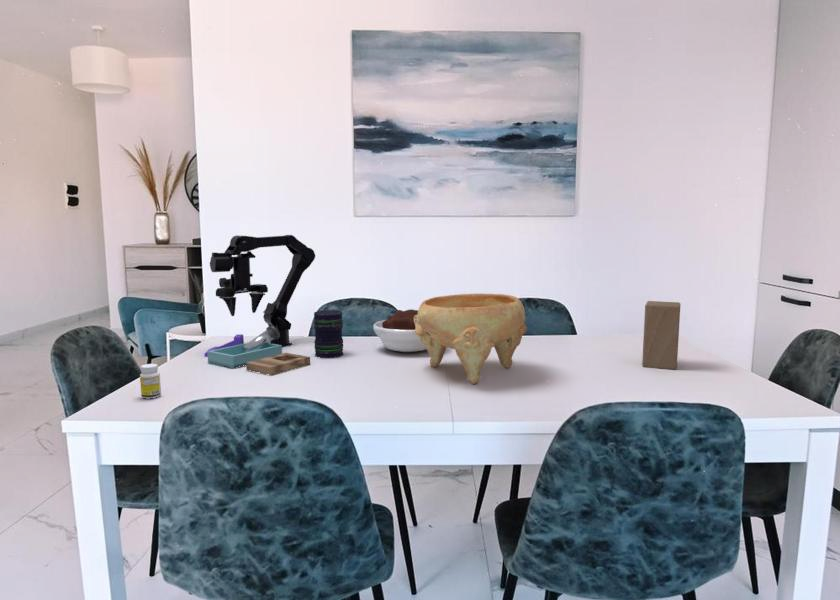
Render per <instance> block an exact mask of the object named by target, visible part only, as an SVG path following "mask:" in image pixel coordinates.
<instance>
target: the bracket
mask: <svg viewBox="0 0 840 600" xmlns="http://www.w3.org/2000/svg"><path fill="white" fill-rule="evenodd" d="M244 340H245V339H244V334H243V333H242V334H241V333H239V334H235V336H234V337H233V340H231V341H229V342H227V343H224V344H222V345H220V346H214V347H211V348H209V349H208V350H207V351H205V352H204V353H203V354H204V358H208V351H211V350H216V349H221V348H226V347H230V346H235V345H240V344H245V342H244Z"/></svg>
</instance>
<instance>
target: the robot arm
mask: <svg viewBox="0 0 840 600" xmlns="http://www.w3.org/2000/svg"><path fill="white" fill-rule="evenodd" d="M282 246H283V247H284V246H285V247H286V248H287V249H288V251H289V252H290V253H291V254H292V260H291V267H290V270H289V272H288V274H287V277H286V279H285V281H284V282H283V285H282V286H281V289H280V290H279V292H278V295H277V297H276V299H275V301H273V302H272V303H271V302H268V303H267V305H266V306H265V307H266V308H265V309H264V311H263V312H262V313H263V321H264V322H265V323H266V324H267V325H268V326H267V327H269V326H270V325H273V326H275V327H276V328H277V329H278V331H279V333H280V337H279V338H277V339H276V340H272V341H270V342H269V343H271V344H277V345H282V347H284V346H283V345H286V346H289V345H288V344H290V345H292V344H293V342H290V332H289V331H290V330H291V327H292V323H291V322H290V321H289V320H288V319H287V315H288V304H289V303H290V301H291V298H292V296H293V295H294V292H295V290H296V288H297V286H298V284H299V282H300V279H301V278H302V277H303V276H302V275H303V273H304V272H305V271H306V270H308V269H309V267H310V266H311V265H312V264H313V262H314V261H315V258H316V254H315V251H314V250H313V249H312V248H311V247H308V246H307V245H306V244H305V243H303V242H302V241H300V240H298V238H296V237H295V235H293V234H285V235H276V236H275V235H273V236H262V237H261V236H259V237H257V236H249V235H234V236H232V237H231V239H230V241H229V245H228V246H227V248H226V249H225V251H224V252H211V257H210V261H209V269H210V270H211V272H212V273H226V272H228V273H229V272H231V270H233V271H232V273H230V278H226V277H221V278H219V279H218V283H219V284H218V285H219V287H218V288H217V289H216V290H215V297H218V298H219V299H222V301H224V302H225V304H226V306H227V308H228V310H229V313H230V315H231V317H234V316H235V313H236V303H237V297H236V295H237V294H243V293H248V295H249V296H250V299H251V312H252V313H253V314H255V313H256V312H257V310H258V307H259V305H260V303H261V301H262V299H263V297H264V296H265V295H266V293H269V290H268V289H269V288H268V286H267V284H262V283H255V284H254V283H253V284H252V283H251V277H254V275H253V273H251V260H250V259H255V258H256V255H255V254H254V253H253V252H252V251H254V250H257V249H259V248H270V247H271V248H272V247H282Z"/></svg>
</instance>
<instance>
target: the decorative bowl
mask: <svg viewBox="0 0 840 600" xmlns="http://www.w3.org/2000/svg"><path fill="white" fill-rule="evenodd" d="M417 310H418V315H415V316H414V324H415V332H416V334H417V335H418V336H419V338H420V340H421V343H422V344H423V345H425V347H426V350H427V352H428V354H429V357H430V359H429V364H430V366H431V367H432V368H435V367H438V366H439V365H440V364H441V362H442V360H443V358H444V354H445V352H446V350H447V348H448V349H452V350H455V353H456V356H457V357H458V359H459V361H460V363H461V364H462V366H463V368H464V371H465V374H466V379H467V382H468V383H470V384H471V385H476V384H478V383H480V380H481V376H482V375H481V371H482V368H483V365H484V363H485V361H487V359H488V358H489V356H490V354H491V352H492V349H493V348H494V350H495V352H496V355H497V357H498V361H499V363H500V365H501V366H502V367H504V368H507V369H509V368H511V367H512V366H513V359H512V358H513V355H514V353H515V351H516V350H517V349H516V348H517V347H518V346H520V344H521V341H522V338H523V335H525V334H526V333H527V331H528V327H527V325H526V324H525V322H526V315H525V307H524V305H523V302H522V301H521V300H520V298H518V297H517V296H514V295H510V294H503V293H502V294H501V293H461V294H460V293H459V294H448V295H441V296H433V297H431V298H428V299H425V300H423V301H422V302H421V303H420V305H419V307H418V309H417Z"/></svg>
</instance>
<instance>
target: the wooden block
mask: <svg viewBox="0 0 840 600" xmlns="http://www.w3.org/2000/svg"><path fill="white" fill-rule="evenodd" d="M680 318H681V303H680V302H676V301H659V300H648V301H646V303H645V305H644V323H643V343H642V361H641V362H642V363H641V365H642V367H643V368H650V369H651V368H652V369H662V370H663V369H664V370H672V371H673V370H674V371H675V370H677V368H678V355H679V354H678V353H679V337H680V336H679V335H680V323H681V322H680V321H681V319H680Z"/></svg>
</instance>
